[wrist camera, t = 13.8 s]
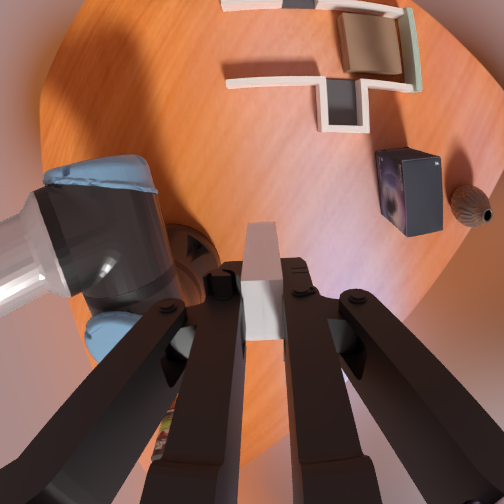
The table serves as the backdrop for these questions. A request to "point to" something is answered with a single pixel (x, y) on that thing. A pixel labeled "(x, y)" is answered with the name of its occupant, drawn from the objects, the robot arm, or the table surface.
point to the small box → (411, 190)
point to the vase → (471, 206)
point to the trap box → (342, 91)
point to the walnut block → (369, 44)
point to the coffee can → (162, 435)
